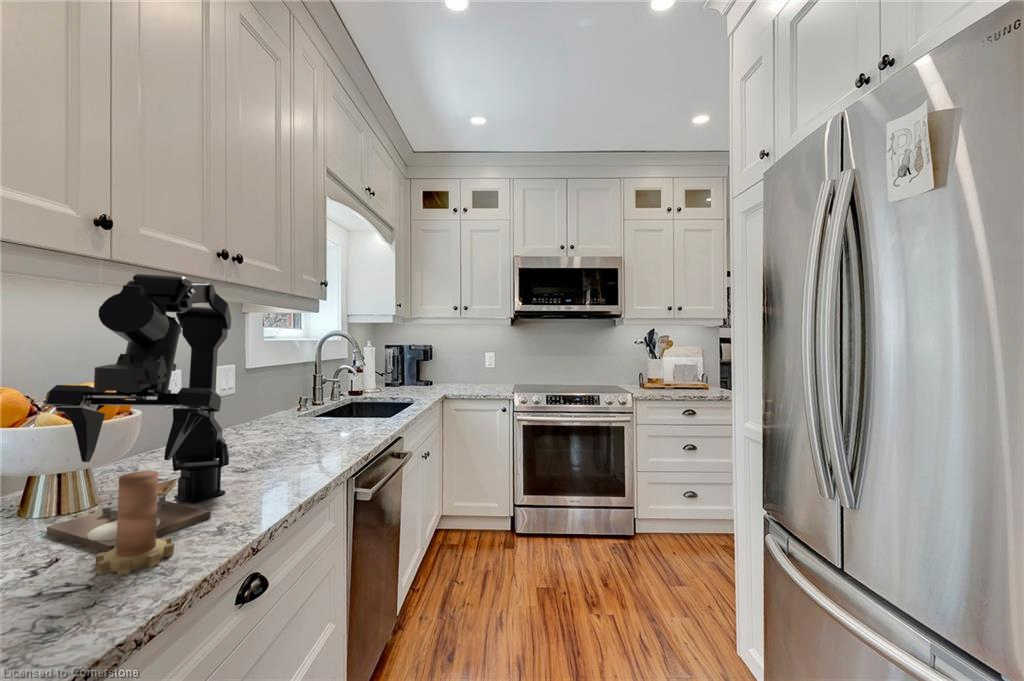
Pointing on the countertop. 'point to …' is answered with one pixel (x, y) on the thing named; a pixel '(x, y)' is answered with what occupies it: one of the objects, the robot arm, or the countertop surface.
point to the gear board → (103, 525)
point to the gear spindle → (136, 527)
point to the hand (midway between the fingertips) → (127, 461)
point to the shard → (165, 487)
